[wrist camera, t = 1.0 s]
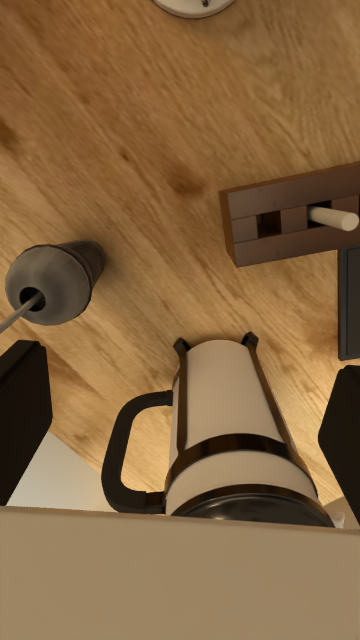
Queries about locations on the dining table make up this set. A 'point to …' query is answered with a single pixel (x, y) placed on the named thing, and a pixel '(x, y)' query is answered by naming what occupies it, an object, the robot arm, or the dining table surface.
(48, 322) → the beverage cup
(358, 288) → the tablet
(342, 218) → the rod
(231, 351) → the coffee press
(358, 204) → the pen block
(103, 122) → the dining table surface
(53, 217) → the dining table surface
